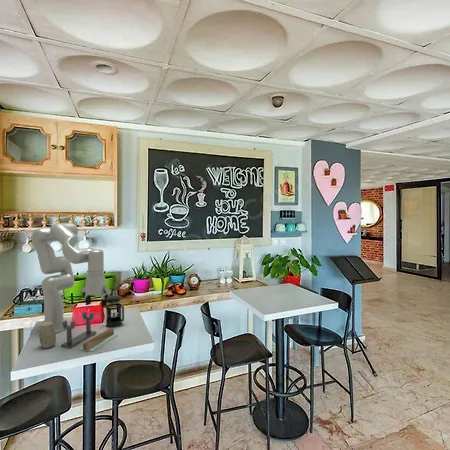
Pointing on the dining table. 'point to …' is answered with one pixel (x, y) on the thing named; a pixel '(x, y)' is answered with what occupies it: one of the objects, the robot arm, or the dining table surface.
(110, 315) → the french press
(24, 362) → the dining table surface
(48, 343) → the carving
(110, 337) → the mat
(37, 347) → the dining table surface
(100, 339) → the bar
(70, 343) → the rail stand
